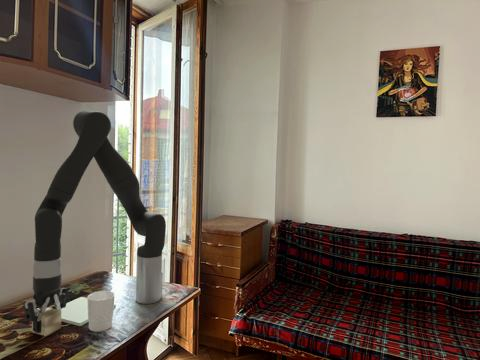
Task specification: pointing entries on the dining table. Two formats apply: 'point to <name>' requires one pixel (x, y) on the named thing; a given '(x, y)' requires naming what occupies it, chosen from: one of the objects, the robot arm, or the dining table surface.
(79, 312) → the sage board
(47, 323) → the beech cube
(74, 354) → the dining table surface
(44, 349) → the dining table surface
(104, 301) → the white cup
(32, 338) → the dining table surface
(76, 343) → the dining table surface
